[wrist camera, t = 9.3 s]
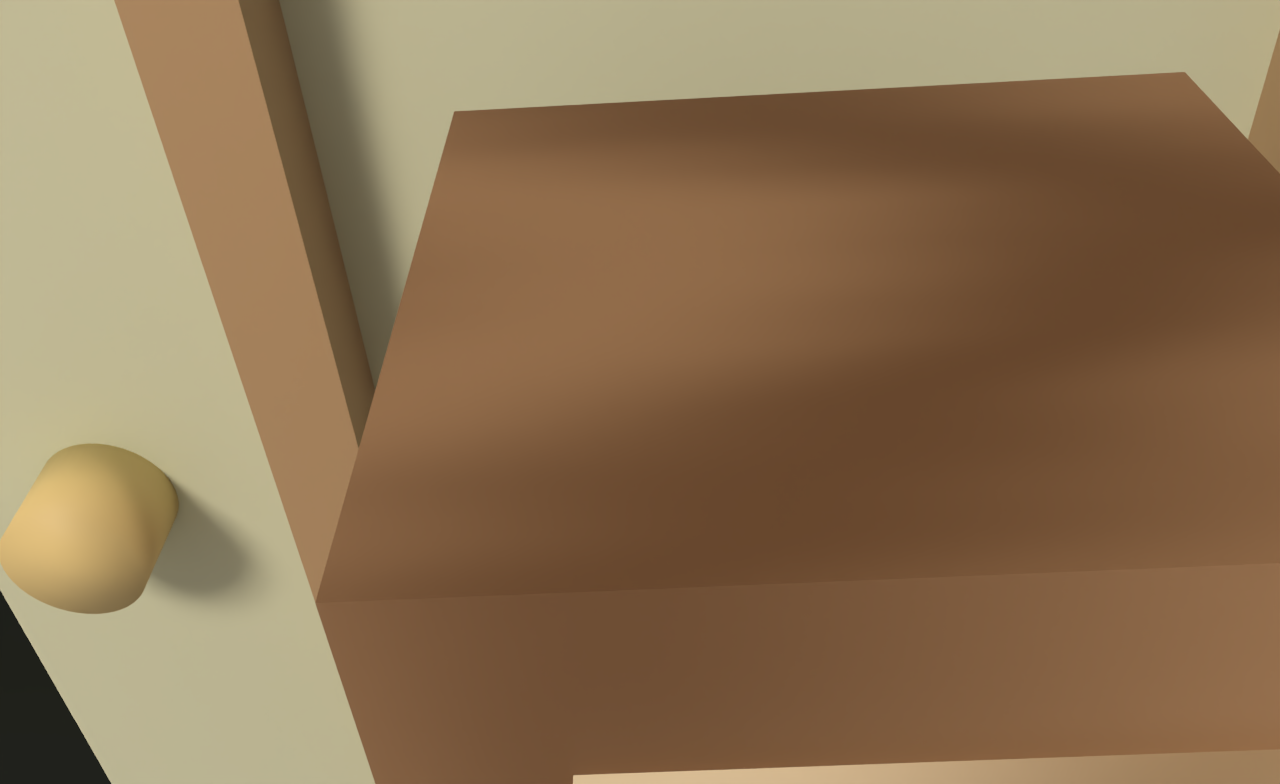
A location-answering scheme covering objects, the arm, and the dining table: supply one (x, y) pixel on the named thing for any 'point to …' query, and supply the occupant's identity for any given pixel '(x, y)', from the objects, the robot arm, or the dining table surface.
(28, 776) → the dining table surface
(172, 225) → the mount board
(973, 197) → the wooden block
